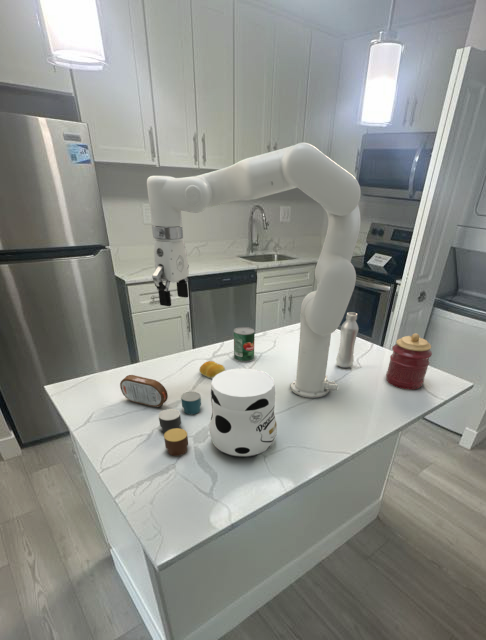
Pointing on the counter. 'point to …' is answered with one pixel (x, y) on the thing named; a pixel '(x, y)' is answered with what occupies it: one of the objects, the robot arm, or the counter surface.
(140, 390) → the tin
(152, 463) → the counter surface
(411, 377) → the kitchen canister
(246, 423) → the milk container
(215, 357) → the counter surface
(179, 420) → the black pod
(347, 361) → the plastic bottle
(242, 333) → the canned tomato
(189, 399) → the cylinder
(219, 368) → the bread roll
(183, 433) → the cylinder
